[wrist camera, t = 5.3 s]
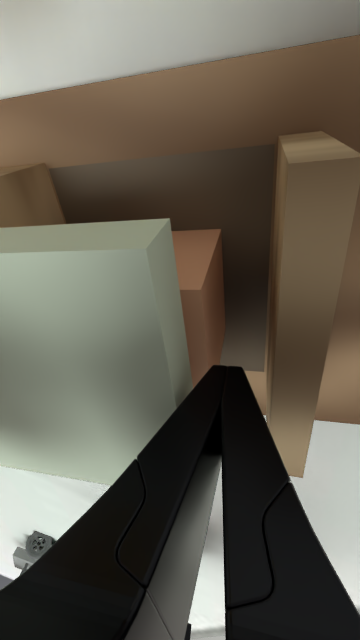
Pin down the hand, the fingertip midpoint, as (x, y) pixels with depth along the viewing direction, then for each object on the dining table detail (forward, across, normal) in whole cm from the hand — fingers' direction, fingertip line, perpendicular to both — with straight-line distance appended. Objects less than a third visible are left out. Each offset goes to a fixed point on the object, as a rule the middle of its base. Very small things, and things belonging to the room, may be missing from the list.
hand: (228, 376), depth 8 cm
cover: (0, +6, 0) cm, 6 cm away
